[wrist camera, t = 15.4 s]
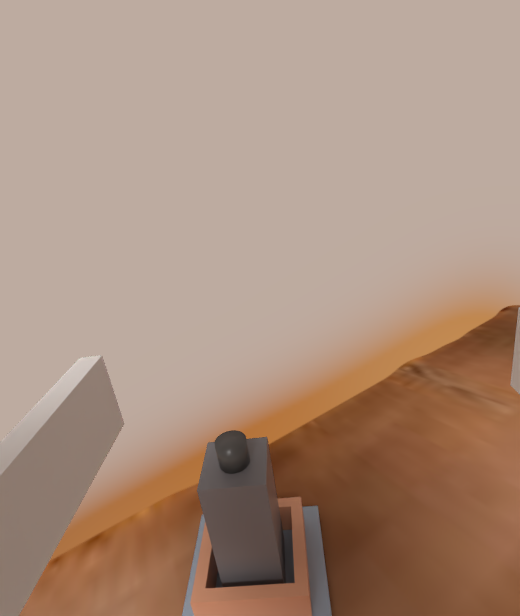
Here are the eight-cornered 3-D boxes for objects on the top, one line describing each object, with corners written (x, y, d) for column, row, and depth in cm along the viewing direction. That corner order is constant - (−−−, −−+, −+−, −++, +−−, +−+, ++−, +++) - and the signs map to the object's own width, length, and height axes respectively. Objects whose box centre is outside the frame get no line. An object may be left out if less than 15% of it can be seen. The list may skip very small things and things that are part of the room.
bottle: (284, 540, 37) (263, 417, 32) (286, 596, 32) (262, 462, 27) (231, 544, 37) (203, 423, 32) (225, 600, 32) (191, 468, 27)
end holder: (318, 512, 40) (315, 482, 39) (336, 651, 29) (332, 616, 28) (203, 521, 41) (196, 492, 40) (177, 659, 30) (165, 626, 28)
